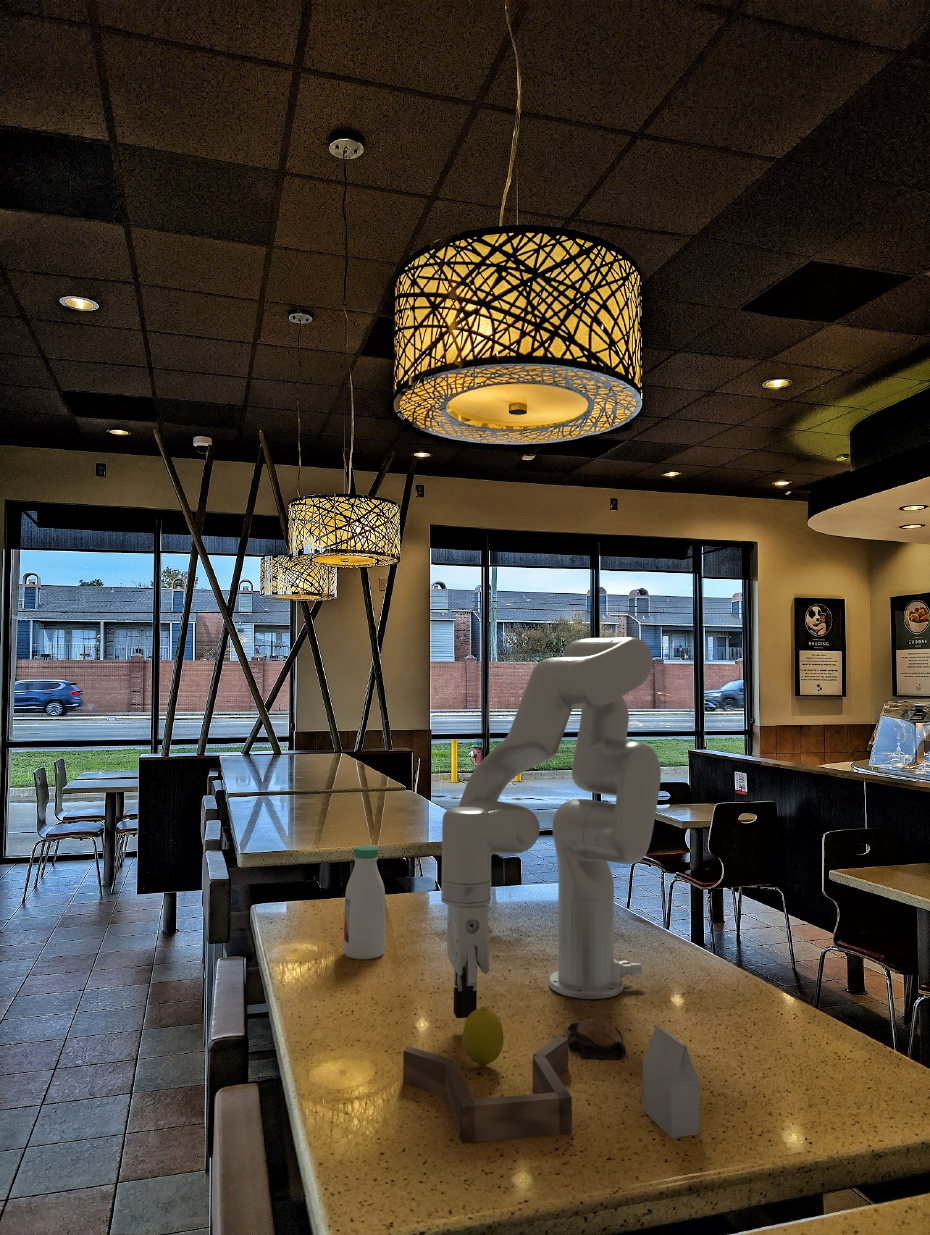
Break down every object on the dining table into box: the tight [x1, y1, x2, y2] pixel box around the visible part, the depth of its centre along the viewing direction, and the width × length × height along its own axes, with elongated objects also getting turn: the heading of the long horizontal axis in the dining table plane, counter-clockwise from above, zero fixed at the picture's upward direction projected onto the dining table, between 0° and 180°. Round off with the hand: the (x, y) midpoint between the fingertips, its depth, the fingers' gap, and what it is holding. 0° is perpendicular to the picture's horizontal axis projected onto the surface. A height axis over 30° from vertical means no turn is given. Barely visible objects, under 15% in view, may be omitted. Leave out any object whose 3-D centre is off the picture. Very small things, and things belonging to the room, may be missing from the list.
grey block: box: [642, 1024, 701, 1139], centre depth 104 cm, size 4×7×10 cm, turn 17°
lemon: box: [462, 1005, 505, 1069], centre depth 118 cm, size 6×6×8 cm
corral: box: [402, 1035, 573, 1144], centre depth 108 cm, size 22×17×4 cm
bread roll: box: [565, 1017, 628, 1061], centre depth 125 cm, size 11×8×4 cm
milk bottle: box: [343, 845, 386, 960], centre depth 166 cm, size 8×8×20 cm
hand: (464, 1015), depth 130 cm, fingers closed
